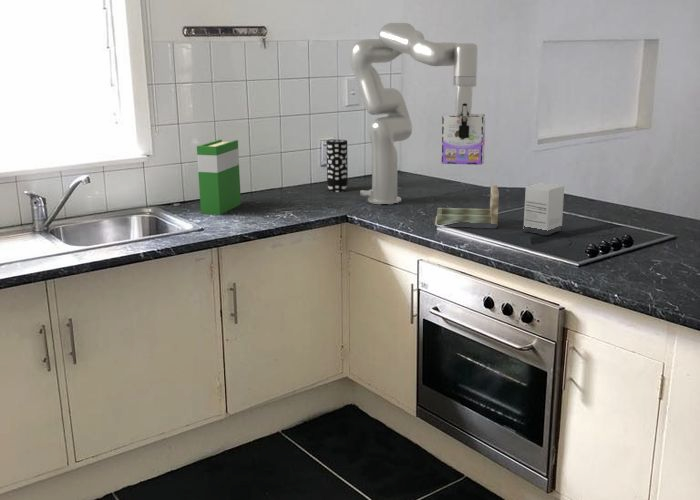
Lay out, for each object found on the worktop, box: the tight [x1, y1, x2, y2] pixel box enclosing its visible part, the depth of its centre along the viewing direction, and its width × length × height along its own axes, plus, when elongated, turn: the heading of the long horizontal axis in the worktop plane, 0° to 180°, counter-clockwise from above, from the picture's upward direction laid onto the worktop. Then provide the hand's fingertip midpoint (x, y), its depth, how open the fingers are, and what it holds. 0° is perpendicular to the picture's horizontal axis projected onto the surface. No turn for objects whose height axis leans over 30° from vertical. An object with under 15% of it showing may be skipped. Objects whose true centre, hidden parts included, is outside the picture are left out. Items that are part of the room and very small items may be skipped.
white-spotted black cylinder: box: [326, 139, 349, 193], centre depth 304 cm, size 8×8×20 cm
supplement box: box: [523, 182, 565, 231], centre depth 238 cm, size 9×9×15 cm
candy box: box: [440, 113, 486, 166], centre depth 253 cm, size 14×6×16 cm, turn 72°
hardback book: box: [196, 139, 242, 216], centre depth 272 cm, size 18×7×24 cm, turn 163°
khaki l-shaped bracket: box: [434, 185, 500, 226], centre depth 249 cm, size 20×12×12 cm, turn 82°
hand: (463, 135), depth 253 cm, fingers closed on candy box, 6 cm apart
